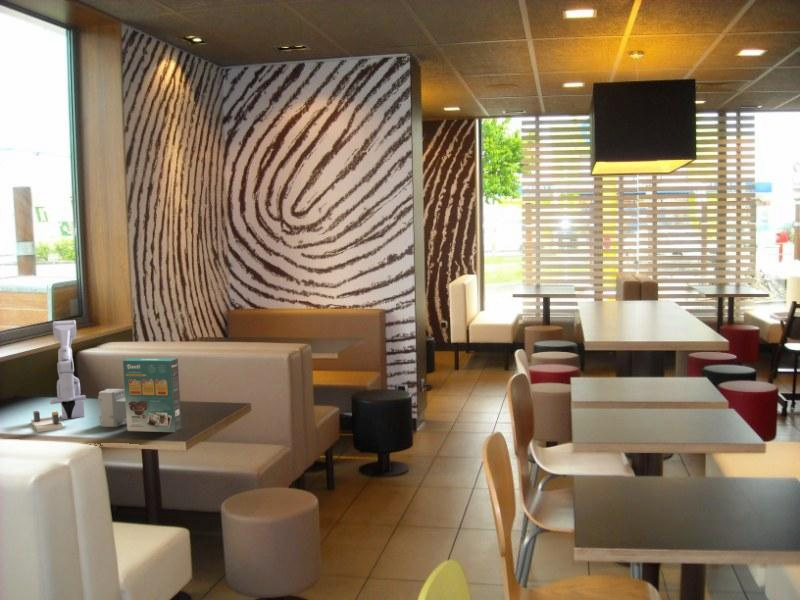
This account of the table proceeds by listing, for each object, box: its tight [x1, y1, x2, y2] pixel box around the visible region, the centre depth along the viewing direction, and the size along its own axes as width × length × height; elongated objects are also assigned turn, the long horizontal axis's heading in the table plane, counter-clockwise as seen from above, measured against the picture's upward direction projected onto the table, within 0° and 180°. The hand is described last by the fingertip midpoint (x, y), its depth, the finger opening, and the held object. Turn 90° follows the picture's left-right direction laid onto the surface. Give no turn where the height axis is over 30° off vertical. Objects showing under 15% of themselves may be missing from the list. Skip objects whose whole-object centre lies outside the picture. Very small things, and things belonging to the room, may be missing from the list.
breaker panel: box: [30, 410, 64, 433], centre depth 373 cm, size 10×20×6 cm, turn 31°
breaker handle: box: [51, 411, 60, 424], centre depth 370 cm, size 2×4×5 cm, turn 31°
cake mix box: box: [122, 357, 182, 433], centre depth 358 cm, size 22×6×30 cm, turn 77°
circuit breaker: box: [97, 388, 127, 428], centre depth 370 cm, size 8×14×15 cm, turn 78°
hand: (69, 418), depth 373 cm, fingers closed
